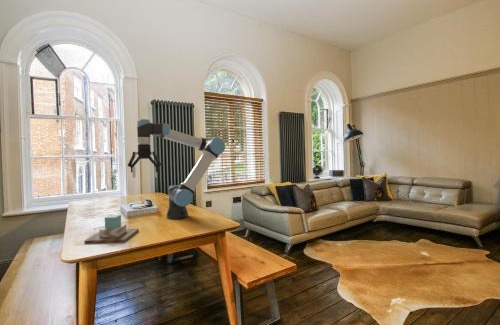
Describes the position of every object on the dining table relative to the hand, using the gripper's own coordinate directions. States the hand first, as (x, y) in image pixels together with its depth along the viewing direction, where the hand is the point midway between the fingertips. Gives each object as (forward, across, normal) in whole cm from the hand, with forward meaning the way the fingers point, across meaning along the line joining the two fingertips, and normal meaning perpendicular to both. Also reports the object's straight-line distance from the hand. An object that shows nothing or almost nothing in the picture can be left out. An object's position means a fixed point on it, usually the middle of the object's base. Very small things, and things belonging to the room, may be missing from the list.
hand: (145, 177), depth 169 cm
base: (+31, -10, -23) cm, 40 cm away
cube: (+25, -10, -23) cm, 35 cm away
